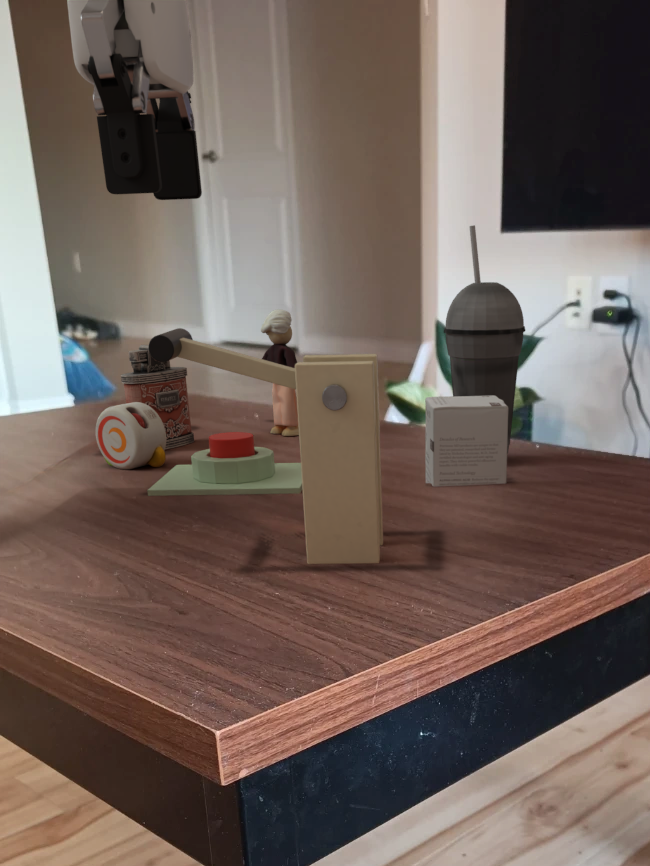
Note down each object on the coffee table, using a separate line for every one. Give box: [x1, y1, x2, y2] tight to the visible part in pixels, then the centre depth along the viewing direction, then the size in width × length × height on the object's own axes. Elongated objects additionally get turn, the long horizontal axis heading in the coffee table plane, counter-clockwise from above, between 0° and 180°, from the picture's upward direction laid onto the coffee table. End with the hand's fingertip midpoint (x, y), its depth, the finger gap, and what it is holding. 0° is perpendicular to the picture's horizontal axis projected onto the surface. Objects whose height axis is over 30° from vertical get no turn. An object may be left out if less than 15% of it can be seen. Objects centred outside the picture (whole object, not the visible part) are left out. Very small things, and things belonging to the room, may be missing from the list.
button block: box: [146, 446, 303, 497], centre depth 85 cm, size 12×10×4 cm
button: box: [208, 431, 255, 458], centre depth 84 cm, size 4×4×2 cm
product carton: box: [424, 395, 508, 487], centre depth 83 cm, size 6×6×7 cm
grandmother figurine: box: [260, 308, 299, 437], centre depth 111 cm, size 8×4×13 cm, turn 49°
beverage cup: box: [443, 224, 526, 455], centre depth 92 cm, size 7×7×20 cm
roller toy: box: [95, 402, 167, 471], centre depth 97 cm, size 4×6×6 cm
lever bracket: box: [295, 353, 384, 565], centre depth 62 cm, size 11×8×13 cm
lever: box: [148, 327, 296, 390], centre depth 60 cm, size 12×5×2 cm, turn 88°
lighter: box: [120, 344, 195, 450], centre depth 105 cm, size 8×3×10 cm, turn 147°
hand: (158, 196), depth 65 cm, fingers open, 9 cm apart
